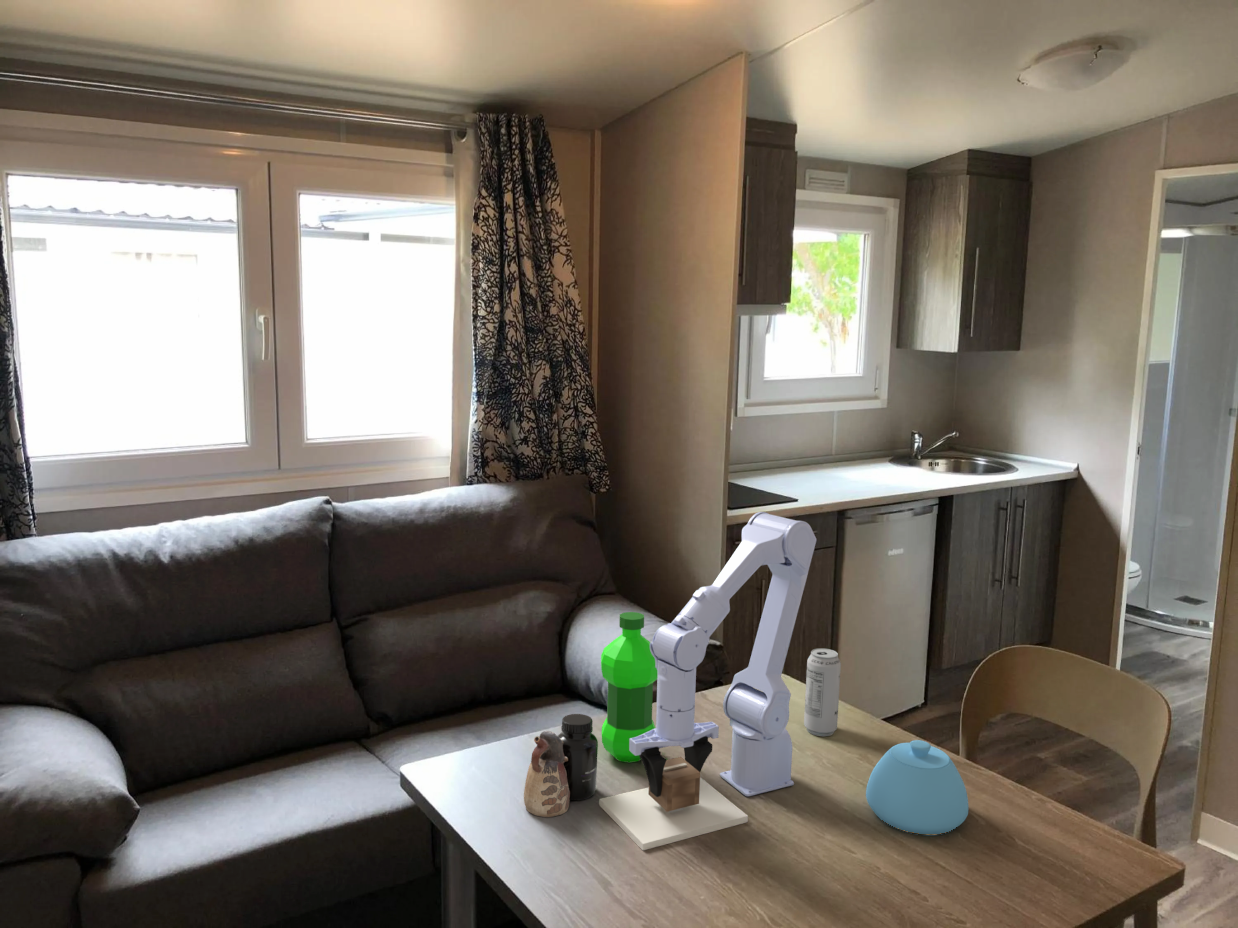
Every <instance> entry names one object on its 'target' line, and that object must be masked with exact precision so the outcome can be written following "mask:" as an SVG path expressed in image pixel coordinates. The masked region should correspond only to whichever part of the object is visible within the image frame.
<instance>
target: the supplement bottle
mask: <svg viewBox="0 0 1238 928" xmlns="http://www.w3.org/2000/svg"><path fill="white" fill-rule="evenodd" d="M560 730H561V732H560V733H559V734H557V736H558V737H559V738H561V740H562V741H563V742H564V743H563V753H564V756H565V757H567V758H568V761H566V762H564V763H563V765H564V767H565V770H566V774H567V781H568V787H569V791H570V798H569V801H583V800H587V799H589V798H591V797H592V796H593V795H594V794H595V793H596V789H597V777H598V776H597V774H598V773H597V772H598V755H599V754H598V751H599V750H598V747H599V740H598V738H597V737H596V735H595V734H594V733H593V732H594V730H593V718H592V717H591V716H589V715H587V714H584V713H583V714H582V713H570V714H566V715H564V716H563V717H562V719H561V727H560Z"/></svg>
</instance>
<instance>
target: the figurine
mask: <svg viewBox="0 0 1238 928" xmlns="http://www.w3.org/2000/svg"><path fill="white" fill-rule="evenodd" d="M533 741H534V743H535V744H536V746H535V747H534V749H533V750H532V753H531V758H530V759H531V760H530V763H529V765H528V770H527V772H526V778H525V783H524V784H525V785H524V791H523V802H524V806H525V809H526V811H527V812H529V813H530V814H532V815H535V816H537V817H545V818H552V817H556V816H560V815H561V816H562V815H563V814H565V813H566V812H568V810H569V808H570V801H571V800H569V798H570V791H569V787H568V781H567V774H566V770H565V767H564V765H563V763H564V762H566V761H568V758H567V757H565V756H564V753H563V743H564V742H563V741H562V740H561V738H559V737H558V734H555V732H553V731H550V730H545V731H542V732H541V733H540V734H539V736H538V735H537V736H535V737H534V738H533Z"/></svg>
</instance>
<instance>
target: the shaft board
mask: <svg viewBox="0 0 1238 928" xmlns="http://www.w3.org/2000/svg"><path fill="white" fill-rule="evenodd" d="M648 793H649V786H648V787H644V788H640V789H635V790H632V791H627V792H623V793H619V794H615V795H611V796H606V797H602V798H598V799H599V801H598V805H599V807H600V808H601V809H602V810H604V812H605V813H606V814H607V815H608V816H609V817H610V818H611V819H612V820H613V822H615V823H616V824H617V825H618V826H619V828H621V830H623V832H624V833H625V834H626V835H627V836H628V837H629V838H630V839H631V840H632V842H634V843H635V844H636V845H637V846H638V847H639V848H640V849H641V851H646V850H650V849H653V848H658V847H660V846H661V847H662V846H665V845H667V844H668V845H669V844H672V843H675V842H676V843H677V842H680V841H683V840H687V839H690V838H694V837H697V836H701V835H706V834H708V833H712V832H717V831H719V830H723V829H727V828H732V827H734V826H738V825H742V824H745V823H748V821H749V816H748V814H747V813H745V812H744V811H743V810H742V809H740V808H739V807H737V806H736V805H735V804H734V803H733V802H732V801H730V799H728V798H726V797H725V795H723V794H722V793H721V792H719V791H718V790H717V789H715V787H713V786H712V785H711V784H709V782H707V781H706V780H705V779H704V778H702V777H701V776H700V792H699V804H695V805H692V806H688V807H684V808H680V809H676V810H672V811H668V812H667V811H666V810H664V809H663V808H662V807H661V806H660V805H659V804H658V803H657V802H656V801H655V800H654V799H653V798H652V797H651V796H650V795H648Z"/></svg>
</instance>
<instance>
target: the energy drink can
mask: <svg viewBox="0 0 1238 928" xmlns="http://www.w3.org/2000/svg"><path fill="white" fill-rule="evenodd" d="M841 666H842V663H841V660H840V658H839V653H838V652H837V651H836V650H833V649H829V648H814V649H812V650H811V651H810V655H809V656H808V658H807V662H806V674H805V675H806V676H805V678H806V679H805V680H806V681H805V695H804V696H805V697H804V698H805V699H804V716H803V717H804V718H803V726H804V727H805V728H806V731H807V733H809V734H811V735H813V736H818V737H829V736H832V735H833V734H835V731H836V730H837V729H838V722H839V721H838V719H839V706H840V705H839V701H840V700H839V699H840V687H841V686H840V685H841V684H840V683H841Z"/></svg>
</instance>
